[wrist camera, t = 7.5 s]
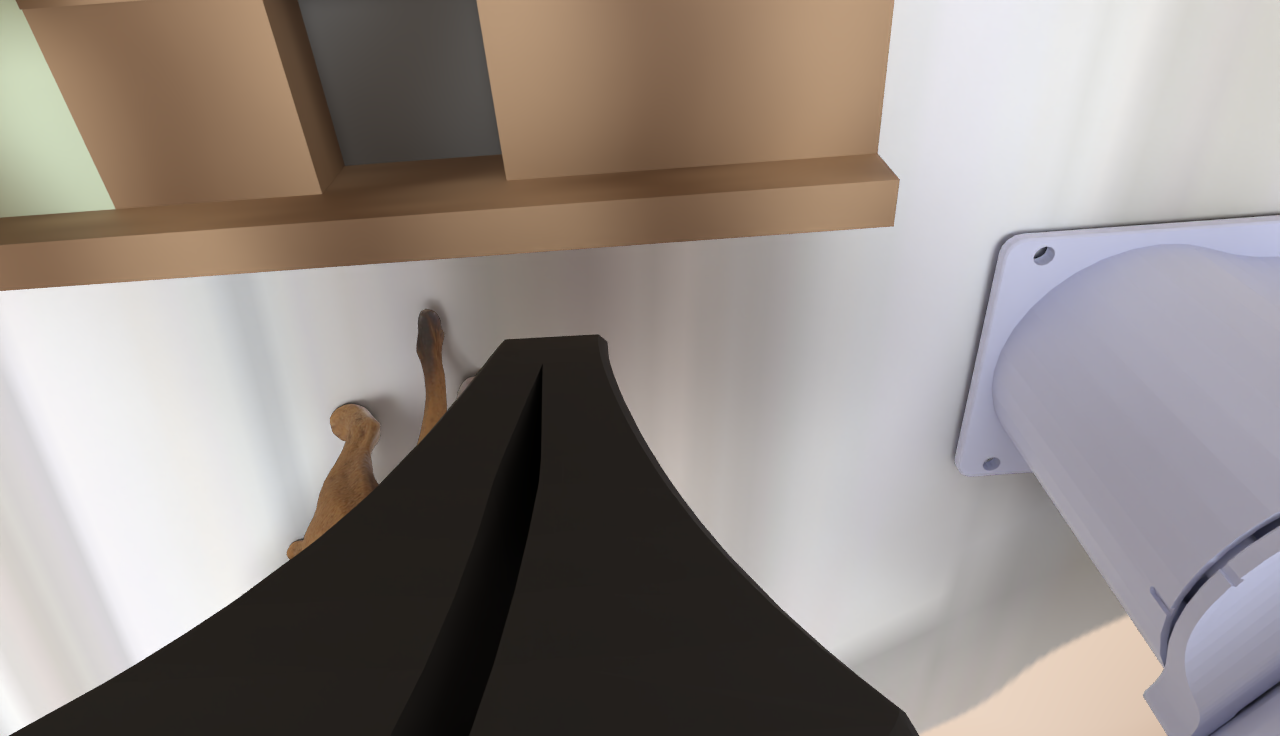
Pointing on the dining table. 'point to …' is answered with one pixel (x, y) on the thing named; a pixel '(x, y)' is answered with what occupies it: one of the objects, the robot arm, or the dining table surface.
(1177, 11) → the dining table surface
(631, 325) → the dining table surface
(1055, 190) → the dining table surface
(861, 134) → the walnut lane
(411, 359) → the dining table surface
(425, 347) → the lion figurine
